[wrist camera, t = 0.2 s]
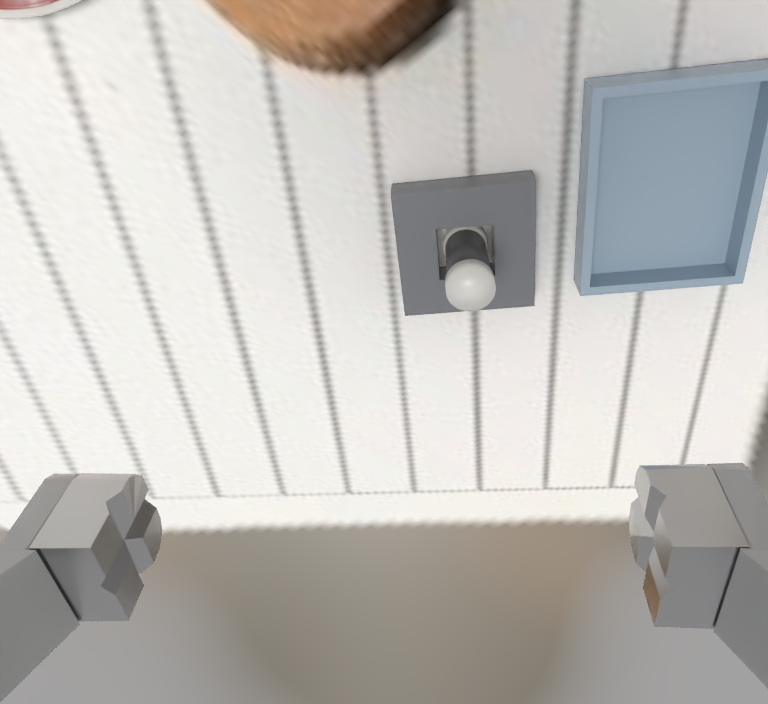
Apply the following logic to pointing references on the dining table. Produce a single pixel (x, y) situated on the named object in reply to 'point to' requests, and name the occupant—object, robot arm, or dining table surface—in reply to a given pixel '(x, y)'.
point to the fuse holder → (465, 209)
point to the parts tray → (670, 177)
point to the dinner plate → (32, 8)
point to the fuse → (468, 268)
